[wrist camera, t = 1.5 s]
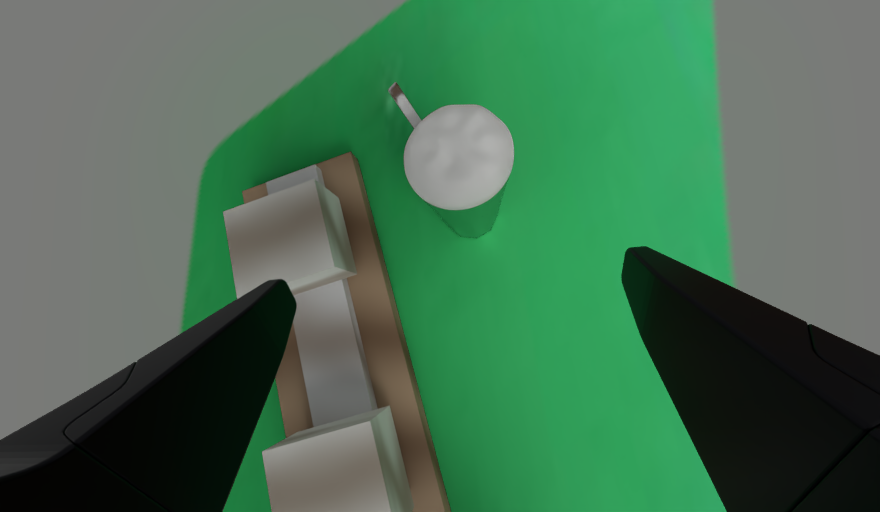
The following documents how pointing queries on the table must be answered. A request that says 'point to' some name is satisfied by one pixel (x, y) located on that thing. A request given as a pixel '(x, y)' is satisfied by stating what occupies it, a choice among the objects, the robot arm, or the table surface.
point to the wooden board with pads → (336, 349)
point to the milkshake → (458, 163)
